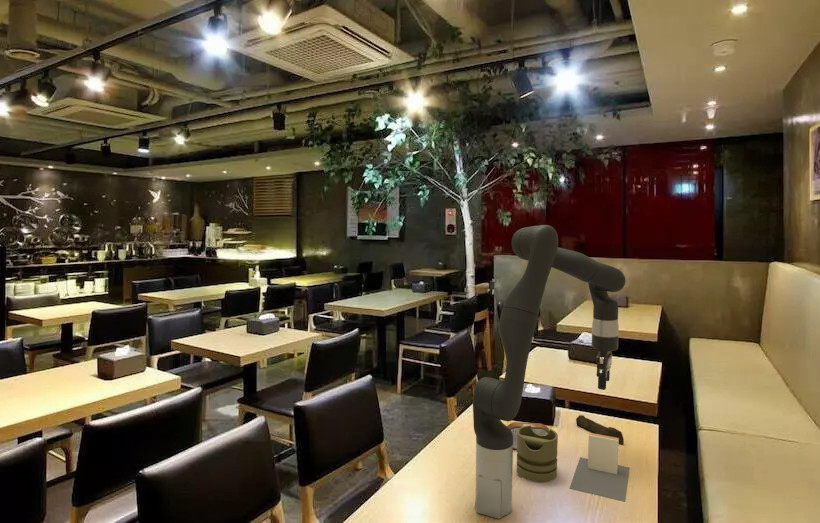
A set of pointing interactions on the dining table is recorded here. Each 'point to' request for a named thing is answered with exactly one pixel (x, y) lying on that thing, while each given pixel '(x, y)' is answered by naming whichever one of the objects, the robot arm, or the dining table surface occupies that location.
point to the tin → (536, 427)
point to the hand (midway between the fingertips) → (603, 384)
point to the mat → (600, 481)
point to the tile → (603, 453)
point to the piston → (536, 455)
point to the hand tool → (599, 428)
